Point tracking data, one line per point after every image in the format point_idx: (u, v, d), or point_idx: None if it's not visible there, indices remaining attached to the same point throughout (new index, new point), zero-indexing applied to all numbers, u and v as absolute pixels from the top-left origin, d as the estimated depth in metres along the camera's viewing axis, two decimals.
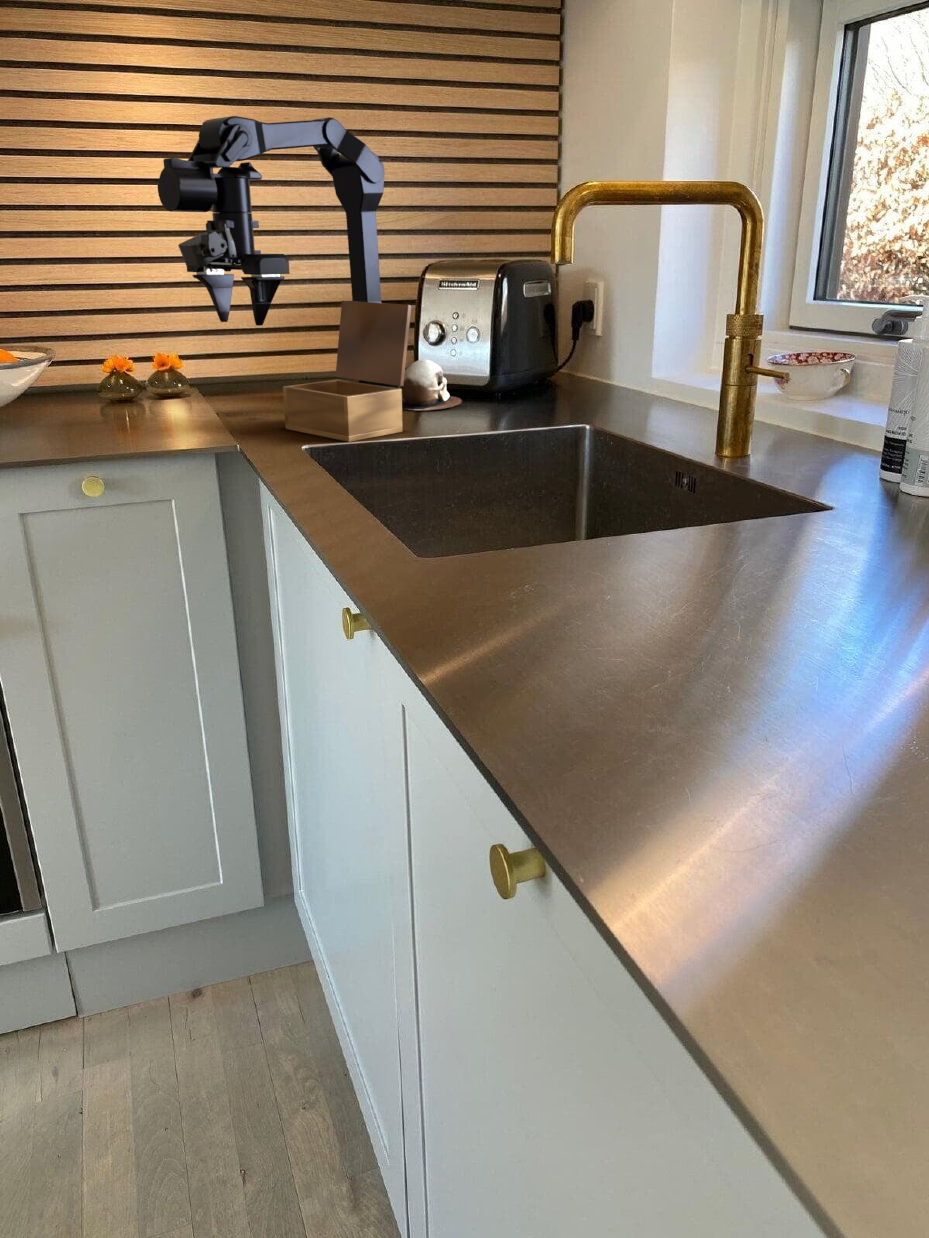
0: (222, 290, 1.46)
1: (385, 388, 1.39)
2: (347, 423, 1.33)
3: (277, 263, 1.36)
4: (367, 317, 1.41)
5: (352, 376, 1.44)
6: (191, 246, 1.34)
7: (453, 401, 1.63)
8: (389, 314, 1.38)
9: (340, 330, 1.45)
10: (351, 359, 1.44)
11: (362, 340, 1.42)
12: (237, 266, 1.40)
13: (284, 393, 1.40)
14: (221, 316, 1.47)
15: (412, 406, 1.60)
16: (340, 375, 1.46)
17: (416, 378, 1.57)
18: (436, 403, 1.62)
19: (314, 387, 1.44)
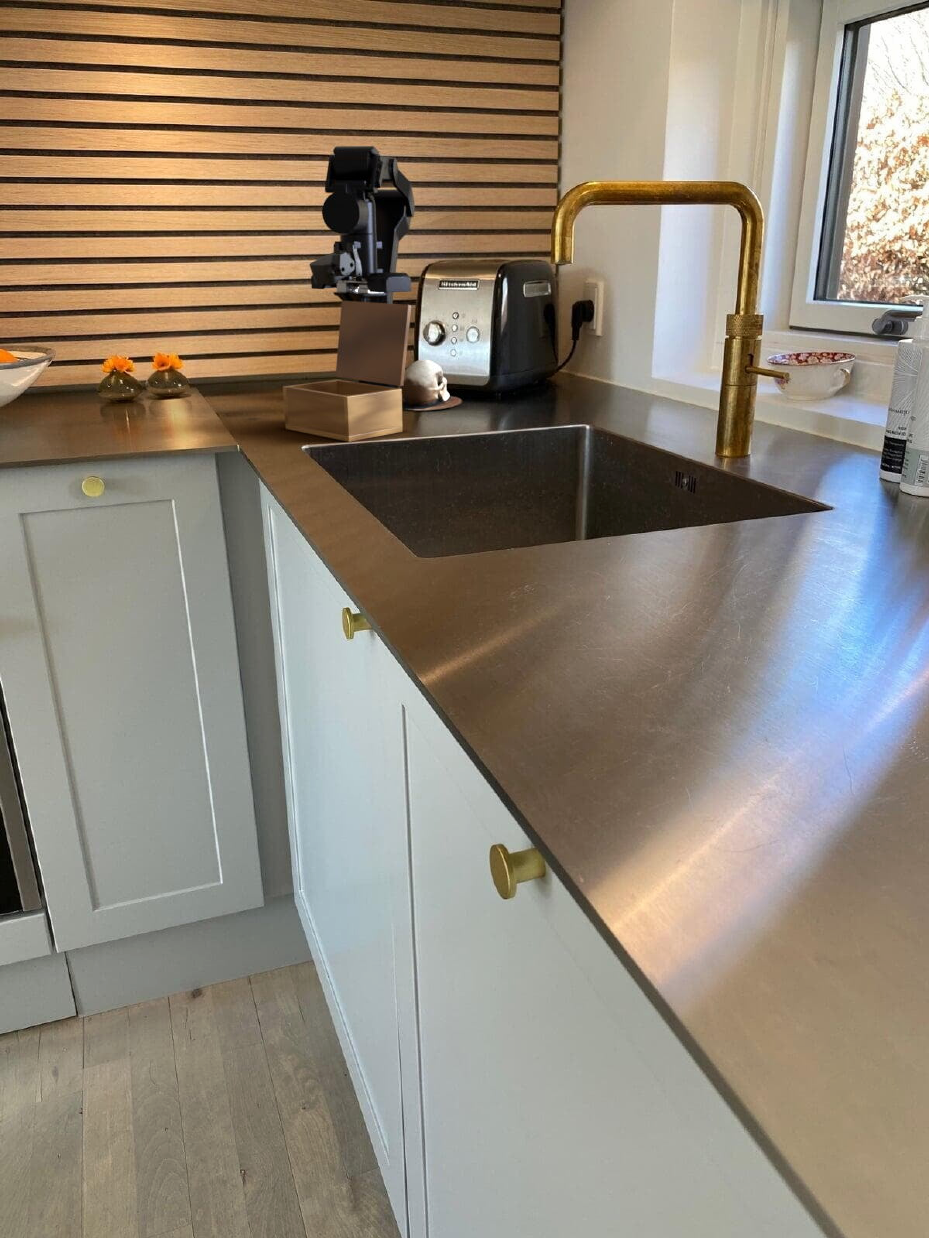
0: None
1: (385, 388, 1.39)
2: (347, 423, 1.33)
3: (401, 281, 1.45)
4: (367, 317, 1.41)
5: (352, 376, 1.44)
6: (323, 266, 1.43)
7: (453, 401, 1.63)
8: (389, 314, 1.38)
9: (340, 330, 1.45)
10: (351, 359, 1.44)
11: (362, 340, 1.42)
12: (361, 284, 1.50)
13: (284, 393, 1.40)
14: None
15: (412, 406, 1.60)
16: (340, 375, 1.46)
17: (416, 378, 1.57)
18: (436, 403, 1.62)
19: (314, 387, 1.44)
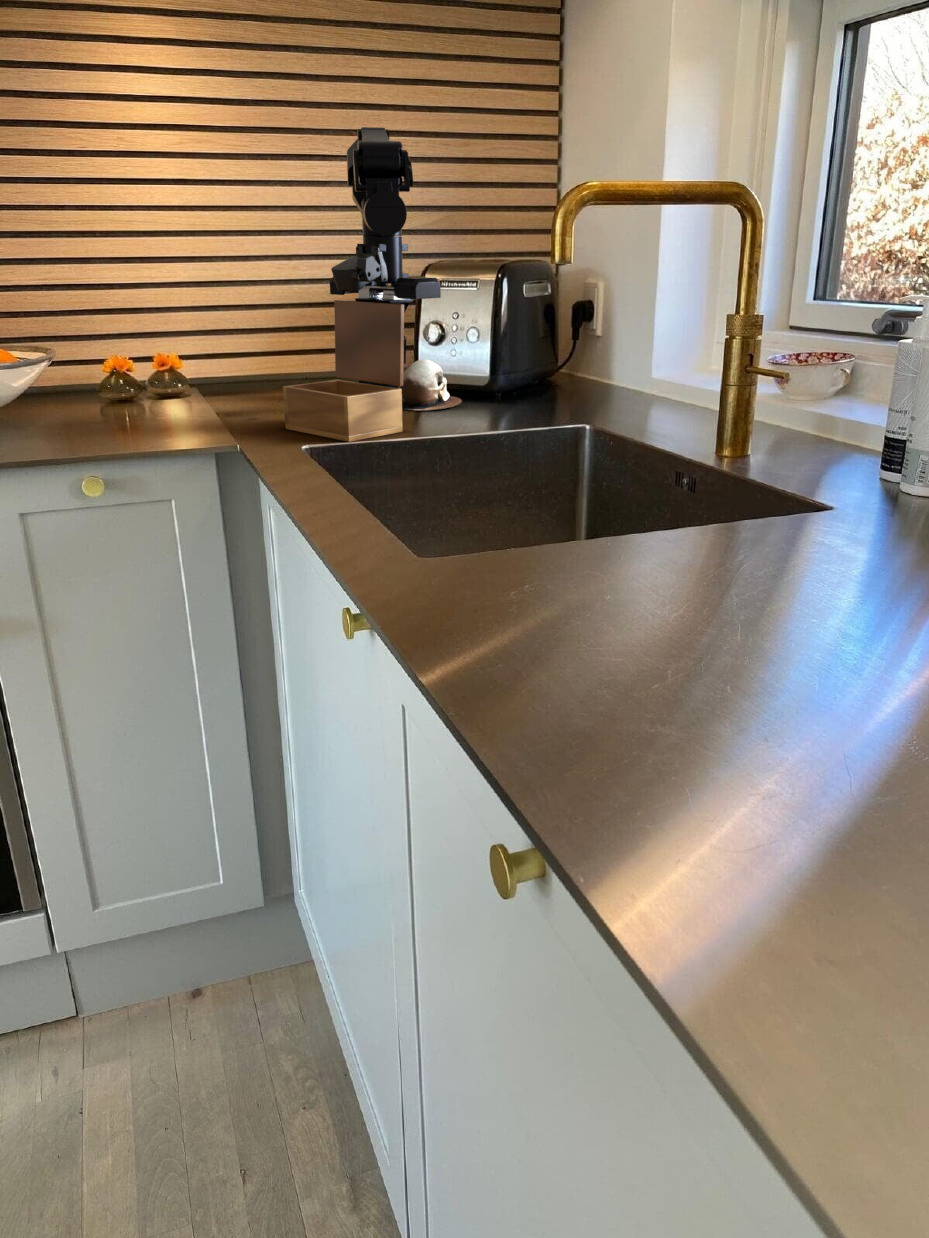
0: None
1: (385, 388, 1.39)
2: (347, 423, 1.33)
3: (431, 287, 1.35)
4: (361, 317, 1.40)
5: (352, 376, 1.44)
6: (347, 270, 1.33)
7: (453, 401, 1.63)
8: (383, 314, 1.37)
9: (335, 330, 1.44)
10: (349, 359, 1.44)
11: (358, 340, 1.42)
12: (385, 289, 1.39)
13: (284, 393, 1.40)
14: None
15: (412, 406, 1.60)
16: (340, 375, 1.46)
17: (416, 378, 1.57)
18: (436, 403, 1.62)
19: (314, 387, 1.44)
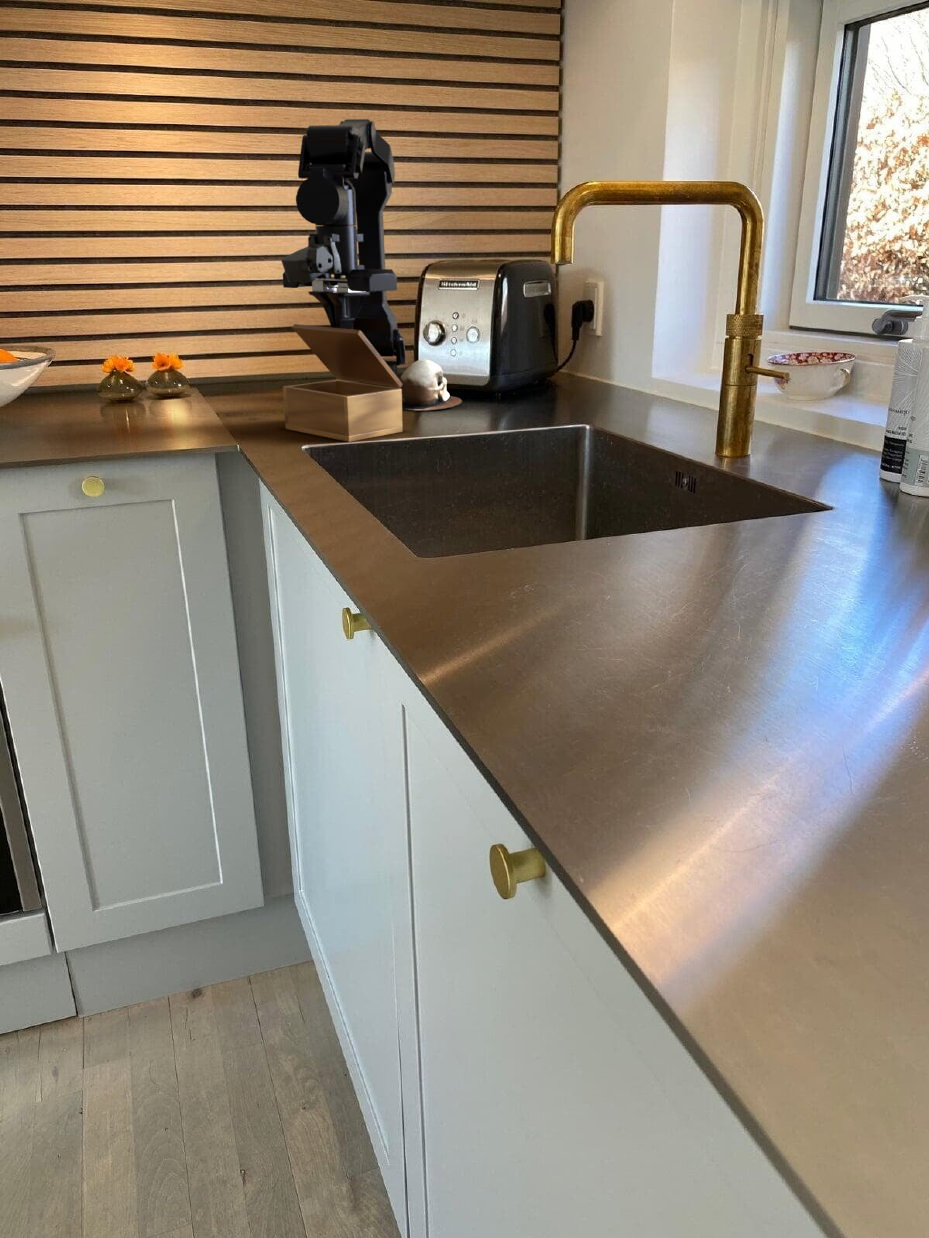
0: None
1: (385, 388, 1.39)
2: (347, 423, 1.33)
3: (386, 279, 1.28)
4: (327, 340, 1.36)
5: (351, 379, 1.44)
6: (297, 261, 1.26)
7: (453, 401, 1.63)
8: (346, 340, 1.33)
9: (310, 348, 1.42)
10: (339, 367, 1.43)
11: (337, 356, 1.39)
12: (340, 282, 1.33)
13: (284, 393, 1.40)
14: None
15: (412, 406, 1.60)
16: (339, 378, 1.46)
17: (416, 378, 1.57)
18: (436, 403, 1.62)
19: (314, 387, 1.44)
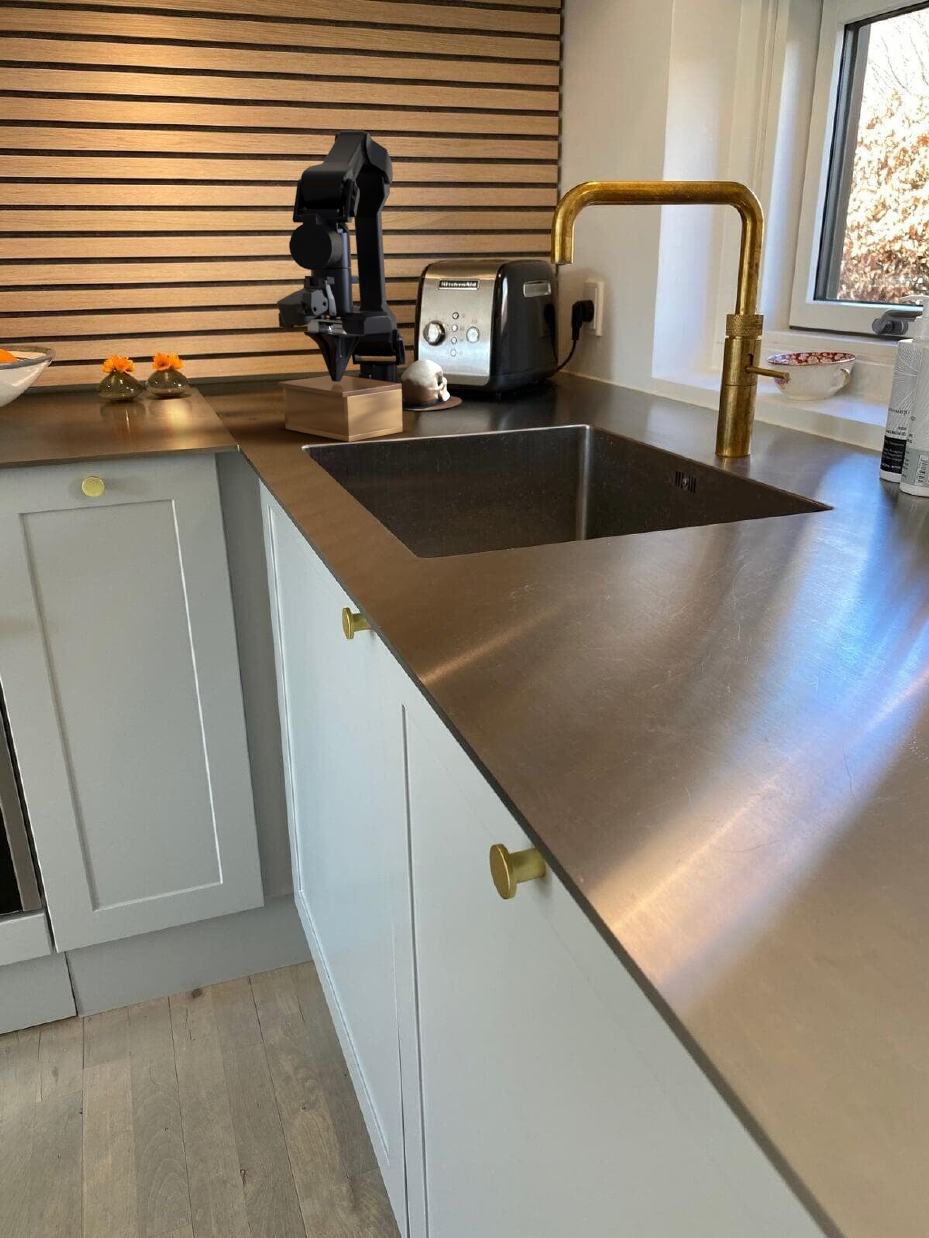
0: None
1: None
2: (347, 423, 1.33)
3: (380, 322, 1.29)
4: None
5: None
6: (292, 305, 1.27)
7: (453, 401, 1.63)
8: None
9: None
10: None
11: None
12: (335, 323, 1.34)
13: (284, 393, 1.40)
14: None
15: (412, 406, 1.60)
16: None
17: (416, 378, 1.57)
18: (436, 403, 1.62)
19: None
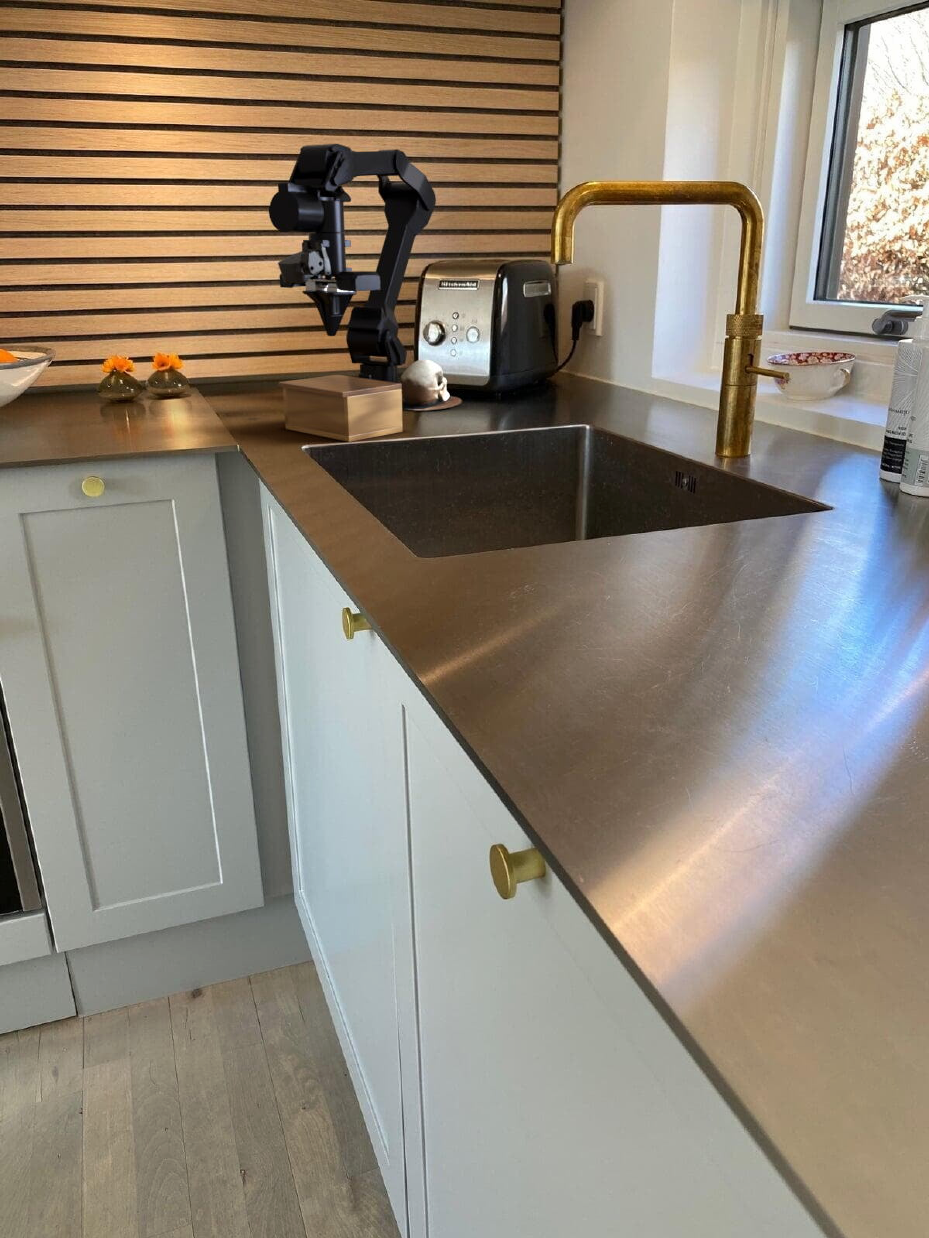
0: None
1: None
2: (347, 423, 1.33)
3: (370, 280, 1.45)
4: None
5: None
6: (291, 264, 1.43)
7: (453, 401, 1.63)
8: None
9: None
10: None
11: None
12: (330, 282, 1.50)
13: (284, 393, 1.40)
14: None
15: (412, 406, 1.60)
16: None
17: (416, 378, 1.57)
18: (436, 403, 1.62)
19: None
